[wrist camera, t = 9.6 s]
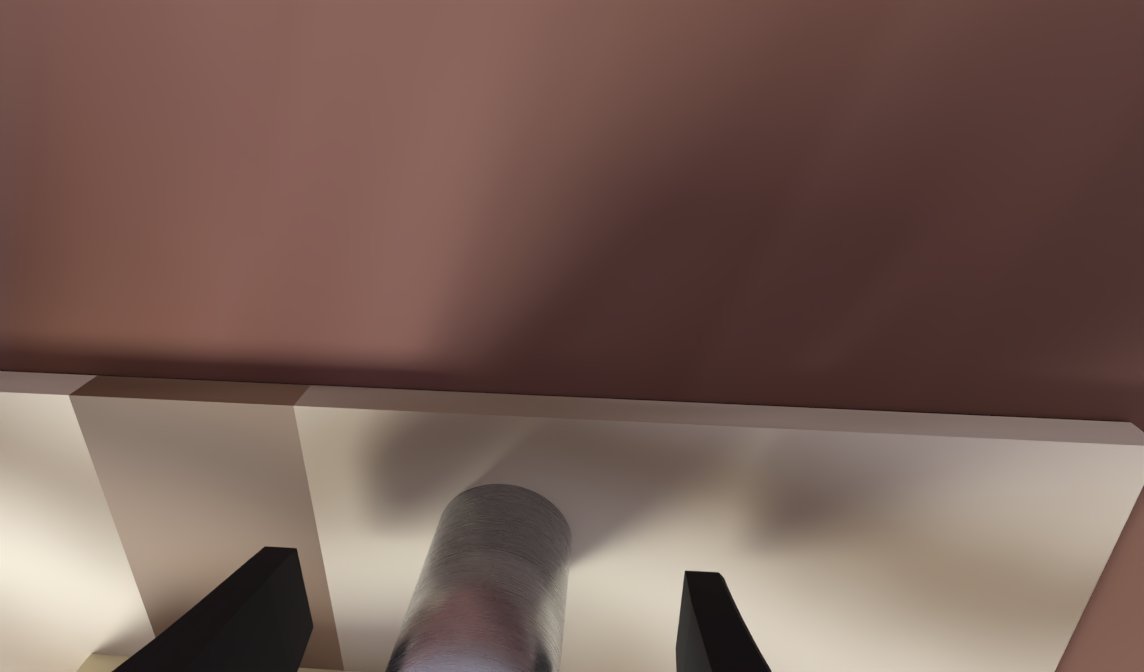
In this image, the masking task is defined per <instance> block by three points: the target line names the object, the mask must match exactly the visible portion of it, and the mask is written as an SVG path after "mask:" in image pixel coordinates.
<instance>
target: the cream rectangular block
mask: <svg viewBox="0 0 1144 672" xmlns="http://www.w3.org/2000/svg"><path fill="white" fill-rule="evenodd" d="M130 657H131V656H117V655H102V654H90V656H89V657H88V658H87V659H86V660H85V662H84V663H83V664H82V665H81V666H80V668H79V669H78V670H77V671H76V672H112V671H113V670H114V669H116V668H117V667H118V666H120V665H121V664H122V663H123V662H125V661H126V660H127V659H129V658H130ZM297 672H355V671H341V670H326V669H311V668H299V669H298V671H297Z"/></svg>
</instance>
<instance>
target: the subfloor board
mask: <svg viewBox="0 0 1144 672" xmlns="http://www.w3.org/2000/svg"><path fill="white" fill-rule="evenodd" d="M488 484H509V485H515V486H520V487H523V488H526V489H529V490H532V491H534V492H536V493H538V494H540V495H541V496H543V497H545V498H546V499H548V500H549V501H550V502H552V503H553V504H554V505H555V506H556V507H557V508H558V509H559V510H560V512H561V513H562V514H563V516H564V517H565V519H566V521H567V523H568V525H569V528H570V532H571V540H572V543H571V554H570V566H569V577H568V588H567V599H566V610H565V621H564V632H563V643H562V654H561V666H560V672H677V671H676V651H675V649H676V641H677V632H678V624H679V615H680V607H681V598H682V590H683V581H684V573H685V570H686V571H704V572H719V573H720V574H721V575H722V576H723V577H724V579H725V581H726V584H727V586H728V588H729V591H730V593H731V595H732V597H733V599H734V602H735V604H736V606H737V608H738V610H739V612H740V614H741V616H742V618H743V620H744V622H745V624H746V626H747V628H748V630H749V632H750V633H751V635H752V637H753V639H754V641H755V643H756V645H757V646H758V648H759V650H760V652H761V654H762V655H763V657H764V659H765V661H766V662H767V664H768V666H769V667H770V669H771V671H772V672H1055V670H1056V667H1057V665H1058V663H1059V661H1060V659H1061V657H1062V655H1063V653H1064V651H1065V649H1066V647H1067V644H1068V642H1069V640H1070V638H1071V636H1072V634H1073V632H1074V630H1075V628H1076V626H1077V623H1078V621H1079V619H1080V617H1081V615H1082V613H1083V611H1084V609H1085V607H1086V605H1087V603H1088V600H1089V598H1090V596H1091V594H1092V592H1093V590H1094V588H1095V586H1096V584H1097V582H1098V580H1099V577H1100V575H1101V573H1102V571H1103V569H1104V567H1105V565H1106V563H1107V561H1108V559H1109V556H1110V554H1111V552H1112V550H1113V548H1114V546H1115V544H1116V542H1117V540H1118V538H1119V536H1120V533H1121V531H1122V529H1123V527H1124V525H1125V523H1126V521H1127V519H1128V517H1129V515H1130V512H1131V510H1132V508H1133V506H1134V504H1135V502H1136V500H1137V498H1138V496H1139V494H1140V492H1141V489H1142V487H1143V485H1144V432H1143V431H1141V430H1140V429H1139V428H1138V427H1136V426H1135V425H1134V424H1132V423H1131V422H1112V421H1090V420H1067V419H1045V418H1023V417H1001V416H979V415H957V414H935V413H913V412H891V411H869V410H847V409H825V408H803V407H781V406H759V405H736V404H714V403H692V402H670V401H648V400H626V399H604V398H582V397H560V396H538V395H516V394H494V393H472V392H450V391H428V390H406V389H383V388H361V387H339V386H317V385H295V384H273V383H251V382H229V381H207V380H185V379H163V378H141V377H119V376H97V375H75V374H52V373H30V372H8V371H0V672H76V671H77V670H78V669H79V668H80V666H81V665H82V664H83V663H84V662H85V660H86V659H87V658H88V657H89V656H90V654H102V655H117V656H133V655H134V654H135V653H136V652H138V651H139V650H140V649H142V648H143V647H144V646H145V645H147V644H148V643H149V642H151V641H152V640H153V639H155V638H156V637H157V636H158V635H160V634H161V633H162V632H163V631H165V630H166V629H167V628H168V627H169V626H171V625H172V624H173V623H174V622H175V621H177V620H178V619H179V618H180V617H182V616H183V615H184V614H185V613H186V612H188V611H189V610H190V609H191V608H192V607H194V606H195V605H196V604H197V603H198V602H200V601H201V600H202V599H203V598H204V597H206V596H207V595H208V594H209V593H210V592H211V591H213V590H214V589H215V588H216V587H217V586H219V585H220V584H221V583H222V582H223V581H224V580H226V579H227V578H228V577H229V576H230V575H231V574H233V573H234V572H235V571H236V570H237V569H238V568H240V567H241V566H242V565H243V564H244V563H246V562H247V561H248V560H249V559H250V558H251V557H253V556H254V555H255V554H256V553H258V552H259V551H260V550H261V549H262V548H264V547H265V546H269V547H286V548H297V552H298V556H299V561H300V566H301V570H302V575H303V580H304V584H305V589H306V594H307V598H308V603H309V607H310V612H311V617H312V621H313V626H314V627H313V630H312V633H311V635H310V638H309V641H308V644H307V647H306V650H305V653H304V655H303V658H302V661H301V663H300V666H299V668H311V669H326V670H341V671H355V672H385V671H386V668H387V665H388V662H389V660H390V657H391V654H392V651H393V648H394V646H395V643H396V640H397V637H398V634H399V632H400V629H401V626H402V623H403V620H404V618H405V615H406V612H407V609H408V607H409V604H410V601H411V598H412V595H413V593H414V590H415V587H416V584H417V581H418V579H419V576H420V573H421V570H422V567H423V565H424V562H425V559H426V556H427V554H428V551H429V548H430V545H431V542H432V540H433V537H434V534H435V531H436V528H437V526H438V523H439V520H440V517H441V514H442V513H443V511H444V509H445V508H446V506H447V505H448V504H449V503H450V502H451V501H452V500H453V499H454V498H455V497H456V496H458V495H459V494H461V493H463V492H465V491H467V490H469V489H471V488H474V487H477V486H482V485H488Z"/></svg>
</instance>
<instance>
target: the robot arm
mask: <svg viewBox="0 0 1144 672" xmlns="http://www.w3.org/2000/svg"><path fill="white" fill-rule="evenodd" d="M313 627H314V626H313V621H312V617H311V612H310V607H309V603H308V598H307V594H306V589H305V584H304V580H303V575H302V570H301V566H300V561H299V556H298V552H297V548H286V547H269V546H265V547H264V548H262V549H261V550H260V551H259V552H258V553H256V554H255V555H254V556H253V557H251V558H250V559H249V560H248V561H247V562H246V563H244V564H243V565H242V566H241V567H240V568H238V569H237V570H236V571H235V572H234V573H233V574H231V575H230V576H229V577H228V578H227V579H226V580H224V581H223V582H222V583H221V584H220V585H219V586H217V587H216V588H215V589H214V590H213V591H211V592H210V593H209V594H208V595H207V596H206V597H204V598H203V599H202V600H201V601H200V602H198V603H197V604H196V605H195V606H194V607H192V608H191V609H190V610H189V611H188V612H186V613H185V614H184V615H183V616H182V617H180V618H179V619H178V620H177V621H175V622H174V623H173V624H172V625H171V626H169V627H168V628H167V629H166V630H165V631H163V632H162V633H161V634H160V635H158V636H157V637H156V638H155V639H153V640H152V641H151V642H149V643H148V644H147V645H145V646H144V647H143V648H142V649H140V650H139V651H138V652H136V653H135V654H134V655H133V656H131V657H130V658H129V659H127V660H126V661H125V662H123V663H122V664H121V665H120V666H118V667H117V668H116V669H114V670H113V671H112V672H297V671H298V669H299V666H300V663H301V661H302V658H303V655H304V653H305V650H306V647H307V644H308V641H309V638H310V635H311V633H312V630H313ZM675 651H676V671H677V672H772V671H771V669H770V667H769V666H768V664H767V662H766V661H765V659H764V657H763V655H762V654H761V652H760V650H759V648H758V646H757V645H756V643H755V641H754V639H753V637H752V635H751V633H750V632H749V630H748V628H747V626H746V624H745V622H744V620H743V618H742V616H741V614H740V612H739V610H738V608H737V606H736V604H735V602H734V599H733V597H732V595H731V593H730V591H729V588H728V586H727V584H726V581H725V579H724V577H723V576H722V575H721V574H720V573H719V572H704V571H686V570H685V573H684V581H683V590H682V598H681V607H680V615H679V624H678V632H677V641H676V649H675Z"/></svg>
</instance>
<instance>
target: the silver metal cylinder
mask: <svg viewBox="0 0 1144 672" xmlns="http://www.w3.org/2000/svg"><path fill="white" fill-rule="evenodd" d="M571 543H572V540H571V532H570V528H569V525H568V523H567V521H566V519H565V517H564V516H563V514H562V513H561V512H560V510H559V509H558V508H557V507H556V506H555V505H554V504H553V503H552V502H550V501H549V500H548V499H546V498H545V497H543V496H541V495H540V494H538V493H536V492H534V491H532V490H529V489H526V488H523V487H520V486H515V485H509V484H488V485H482V486H477V487H474V488H471V489H469V490H467V491H465V492H463V493H461V494H459V495H458V496H456V497H455V498H454V499H453V500H452V501H451V502H450V503H449V504H448V505H447V506H446V508H445V509H444V511H443V513H442V514H441V517H440V520H439V523H438V526H437V528H436V531H435V534H434V537H433V540H432V542H431V545H430V548H429V551H428V554H427V556H426V559H425V562H424V565H423V567H422V570H421V573H420V576H419V579H418V581H417V584H416V587H415V590H414V593H413V595H412V598H411V601H410V604H409V607H408V609H407V612H406V615H405V618H404V620H403V623H402V626H401V629H400V632H399V634H398V637H397V640H396V643H395V646H394V648H393V651H392V654H391V657H390V660H389V662H388V665H387V668H386V671H385V672H560V666H561V654H562V643H563V632H564V621H565V610H566V599H567V588H568V577H569V566H570V554H571Z"/></svg>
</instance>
